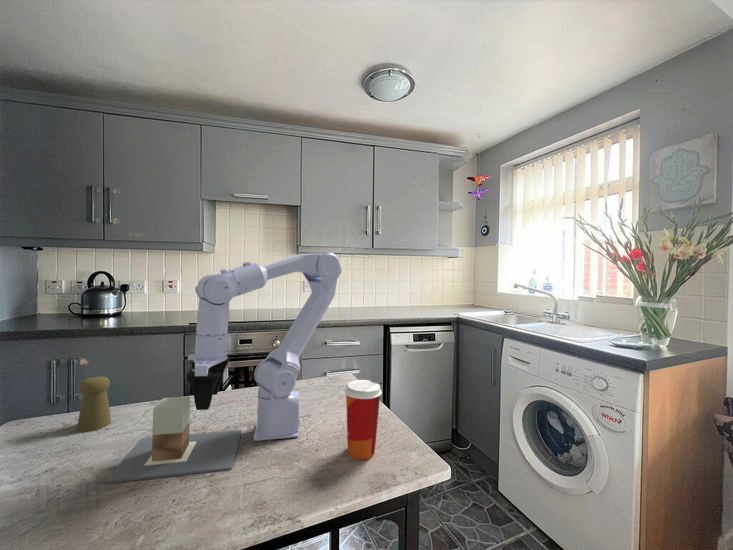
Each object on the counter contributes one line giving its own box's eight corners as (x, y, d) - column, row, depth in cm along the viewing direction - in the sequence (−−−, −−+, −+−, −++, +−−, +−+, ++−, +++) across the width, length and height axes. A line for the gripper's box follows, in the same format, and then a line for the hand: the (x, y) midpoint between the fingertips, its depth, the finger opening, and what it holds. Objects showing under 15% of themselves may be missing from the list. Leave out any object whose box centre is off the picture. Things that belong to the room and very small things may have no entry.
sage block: (189, 420, 66) (190, 396, 66) (181, 432, 61) (182, 406, 61) (162, 422, 65) (163, 398, 65) (152, 435, 60) (153, 408, 60)
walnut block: (189, 444, 66) (189, 420, 66) (181, 458, 61) (181, 432, 61) (162, 446, 65) (162, 422, 65) (151, 461, 60) (152, 435, 60)
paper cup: (361, 438, 72) (363, 376, 71) (387, 453, 66) (389, 386, 66) (334, 451, 66) (336, 384, 66) (359, 468, 61) (362, 395, 60)
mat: (241, 431, 73) (241, 429, 73) (231, 469, 59) (231, 466, 59) (141, 440, 68) (141, 438, 68) (105, 483, 54) (105, 480, 54)
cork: (91, 433, 70) (92, 383, 70) (69, 430, 71) (70, 381, 71) (117, 421, 76) (118, 375, 75) (97, 417, 77) (98, 372, 77)
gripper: (199, 327, 70) (195, 389, 70) (178, 340, 56) (172, 418, 56) (234, 328, 72) (230, 388, 72) (221, 341, 58) (216, 416, 58)
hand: (207, 401), depth 64 cm, fingers open, 7 cm apart
